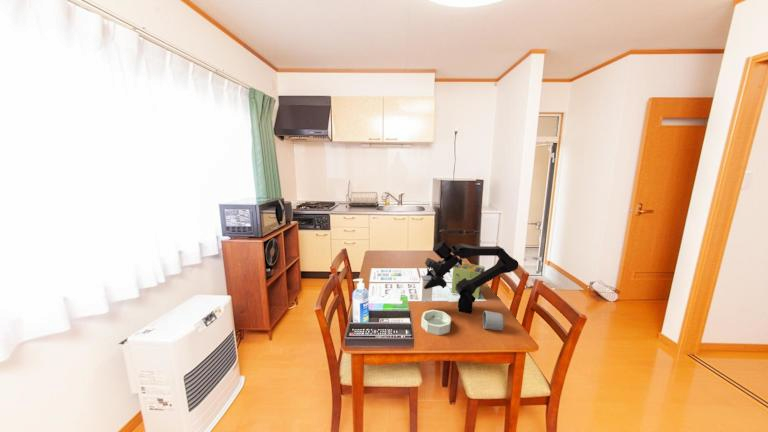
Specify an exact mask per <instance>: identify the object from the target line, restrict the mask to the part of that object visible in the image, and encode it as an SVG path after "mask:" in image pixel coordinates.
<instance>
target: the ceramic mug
mask: <svg viewBox="0 0 768 432" xmlns="http://www.w3.org/2000/svg"><path fill="white" fill-rule="evenodd" d="M505 325H506V321H505V316H504V314H502V313H499V312H495V311H490V310H483V313H482V327H483V329H484V330H494V331H503V330H504V329H505Z"/></svg>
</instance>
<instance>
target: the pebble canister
mask: <svg viewBox="0 0 768 432" xmlns="http://www.w3.org/2000/svg"><path fill="white" fill-rule="evenodd" d="M430 280H431V276H426V275H421V276H420V281H419V282H420V283H419V298H420V301H421V302H431V301H433V287H432V288H428V289H424V287H425V285H426V284H427V283H428V282H429V281H430Z"/></svg>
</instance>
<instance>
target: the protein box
mask: <svg viewBox="0 0 768 432" xmlns="http://www.w3.org/2000/svg"><path fill="white" fill-rule="evenodd" d="M484 271H486V270H485V266H483V265H478V264H474V263H468V262H463V261H462V265H460V264H459V263H457V264H456V265H455V266H454V267H453V268H452V282H451V292H452V293H454V294H458V292H457V291H456V284H457V283H459V282H458V281H461V280H463V279H464V278H466V279H467V280H471V279H473V278H474V277H476V276H478V275H479V274H481V273H483V272H484ZM483 290H484V284H483V285H481V286H480V287H478V288H477V289H476V290H475V292H474V293H473V294H472V295H473V296H474V297H475V298H476V299H475V300H479V299H480V298H481V296H482V294H483Z"/></svg>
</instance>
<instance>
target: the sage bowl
mask: <svg viewBox="0 0 768 432" xmlns="http://www.w3.org/2000/svg"><path fill="white" fill-rule="evenodd" d="M420 320H421V321H420V322H421V323H420V327H421V328H422V329H423V330H424V331H425V332H426V333H428V334H432V335H436V336H443V335H445V334H448V333H450V331H451V323H452V317H451V316H450V315H449V314H447V313H446V312H445V311H442V310H436V309H430V310H427V311H423V312H422V315H421V318H420Z"/></svg>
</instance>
